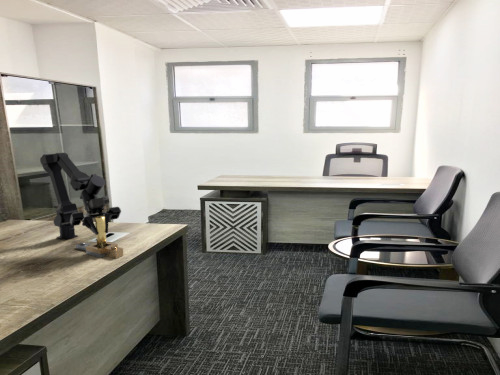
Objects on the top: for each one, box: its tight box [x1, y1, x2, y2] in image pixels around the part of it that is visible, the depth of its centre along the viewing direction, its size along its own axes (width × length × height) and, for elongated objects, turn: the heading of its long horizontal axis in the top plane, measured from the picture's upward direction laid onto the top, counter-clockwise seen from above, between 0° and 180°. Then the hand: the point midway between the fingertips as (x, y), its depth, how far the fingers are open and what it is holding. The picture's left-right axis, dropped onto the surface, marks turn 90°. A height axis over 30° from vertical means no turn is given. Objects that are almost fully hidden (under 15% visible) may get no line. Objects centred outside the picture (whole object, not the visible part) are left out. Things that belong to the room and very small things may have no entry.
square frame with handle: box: [75, 241, 124, 259], centre depth 149 cm, size 24×8×3 cm, turn 60°
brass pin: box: [94, 216, 107, 248], centre depth 147 cm, size 4×4×13 cm
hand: (102, 233), depth 146 cm, fingers closed on brass pin, 4 cm apart
